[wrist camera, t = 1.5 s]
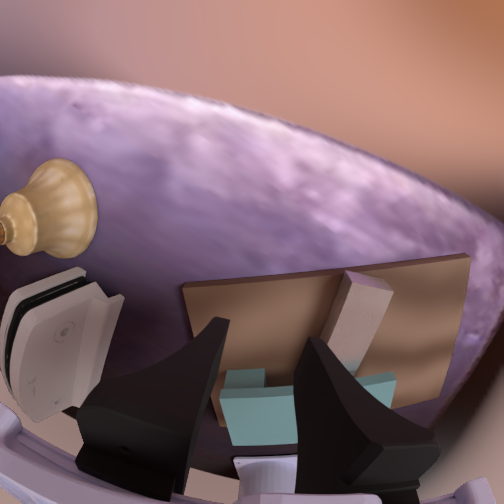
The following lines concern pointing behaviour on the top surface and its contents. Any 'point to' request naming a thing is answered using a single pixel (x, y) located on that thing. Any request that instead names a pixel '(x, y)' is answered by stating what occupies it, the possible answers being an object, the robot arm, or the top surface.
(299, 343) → the base plate
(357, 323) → the link
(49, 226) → the hand bell
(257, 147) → the top surface
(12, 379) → the hinge
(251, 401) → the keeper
